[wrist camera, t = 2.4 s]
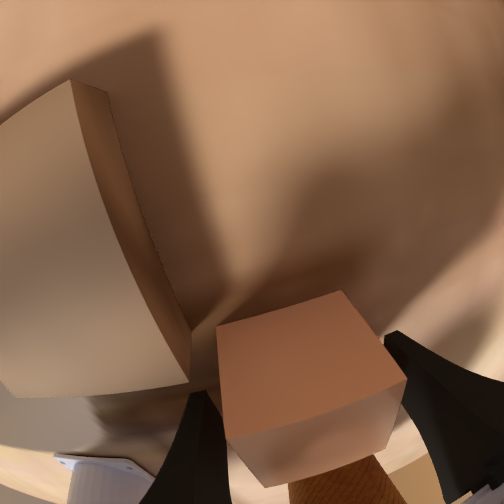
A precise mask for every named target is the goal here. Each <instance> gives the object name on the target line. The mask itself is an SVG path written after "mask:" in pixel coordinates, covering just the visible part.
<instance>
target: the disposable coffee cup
mask: <svg viewBox="0 0 504 504" xmlns="http://www.w3.org/2000/svg"><path fill="white" fill-rule="evenodd" d="M288 490H289V499H290V504H407V503H406V502H405V500H404V498H403V497H402V496H401V495H400V493H399V491H398V490H397V489H396V487H395V485H394V484H393V483H392V481H391V480H390V478H389V477H388V475H387V474H386V472H385V471H384V469H383V468H382V467H381V465H380V463H379V462H378V461H377V459H376V457H375V456H374V455H373V454H372V455H370V456H367V457H365V458H362V459H360V460H357V461H355V462H352V463H350V464H347V465H344V466H342V467H339V468H336V469H333V470H330V471H327V472H324V473H321V474H318V475H315V476H311V477H308V478H304V479H301V480H297V481H293V482H289V483H288Z"/></svg>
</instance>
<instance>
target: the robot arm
mask: <svg viewBox="0 0 504 504" xmlns="http://www.w3.org/2000/svg"><path fill="white" fill-rule="evenodd" d="M384 347H385V348H386V349H387V351H388V352H389V354H390V355H391V356H392V358H393V359H394V360H395V362H396V363H397V365H398V366H399V367H400V369H401V370H402V372H403V373H404V374H405V376H406V377H407V382H406V386H405V390H404V394H403V397H402V401H401V404H402V405H403V407H404V408H405V410H406V411H407V413H408V414H409V416H410V417H411V419H412V420H413V422H414V423H415V425H416V427H417V429H418V430H419V432H420V434H421V436H422V439H423V441H424V443H425V445H426V447H427V450H428V452H429V455H430V457H431V459H432V462H433V464H434V467H435V470H436V473H437V476H438V479H439V483H440V486H441V489H442V494H443V498H444V501H445V503H446V504H451V503H452V502H454V501H456V500H457V499H458V498H460V497H462V496H463V495H465V494H466V493H468V492H469V491H470V490H471V492H472V494H473V495H472V496H471V497H469V498H468V499H467V500H465V501H464V502H462V503H461V504H504V382H501V381H497V380H494V379H490V378H487V377H484V376H481V375H479V374H476V373H474V372H471V371H469V370H466V369H464V368H462V367H460V366H458V365H456V364H454V363H452V362H450V361H448V360H446V359H444V358H442V357H441V356H439V355H437V354H435V353H434V352H432V351H430V350H429V349H427V348H425V347H424V346H422V345H420V344H419V343H417V342H416V341H414V340H412V339H411V338H409V337H408V336H406V335H404V334H403V333H401V332H400V331H398V330H396V331H394V332H392V333H389V334H387V335H385V336H384ZM53 457H54V459H55V460H57V461H58V462H59V463H61V464H62V465H63V466H65V467H66V468H68V469H69V470H70V471H72V477H71V482H70V488H69V493H68V499H67V504H232V501H231V496H230V489H229V478H228V462H227V445H226V437H225V430H224V424H223V419H222V416H221V415H220V413H219V411H218V410H217V408H216V407H215V405H214V403H213V402H212V400H211V398H210V397H209V395H208V393H207V392H206V390H205V391H199V392H194V393H191V394H190V395H189V398H188V401H187V404H186V407H185V410H184V414H183V417H182V419H181V422H180V425H179V428H178V430H177V433H176V436H175V438H174V441H173V443H172V446H171V448H170V450H169V452H168V454H167V457H166V459H165V461H164V463H163V465H162V467H161V469H160V471H159V473H158V474H157V476H156V478H154V477H153V476H151V475H150V474H149V473H147V472H146V471H144V470H143V469H142V468H140V467H139V466H138V465H136V464H135V463H134V462H133V461H131V460H129V459H124V458H97V457H83V456H73V455H64V454H57V453H55V454H54V456H53Z"/></svg>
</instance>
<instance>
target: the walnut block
mask: <svg viewBox="0 0 504 504" xmlns="http://www.w3.org/2000/svg"><path fill="white" fill-rule="evenodd" d="M190 354H191V330H190V328H189V326H188V324H187V322H186V319H185V317H184V315H183V313H182V311H181V309H180V306H179V304H178V302H177V300H176V297H175V295H174V293H173V290H172V288H171V286H170V283H169V281H168V279H167V276H166V274H165V271H164V269H163V266H162V264H161V261H160V259H159V256H158V254H157V251H156V249H155V246H154V244H153V241H152V238H151V236H150V233H149V230H148V228H147V225H146V222H145V220H144V217H143V214H142V211H141V208H140V205H139V202H138V200H137V197H136V194H135V191H134V188H133V185H132V181H131V178H130V175H129V172H128V169H127V166H126V162H125V159H124V156H123V152H122V149H121V145H120V142H119V138H118V135H117V131H116V127H115V124H114V120H113V116H112V112H111V108H110V104H109V100H108V95H107V92H105V91H102V90H99V89H97V88H94V87H91V86H88V85H86V84H83V83H80V82H77V81H74V80H71V79H69V80H67V81H66V82H64V83H62V84H60V85H59V86H57V87H55V88H54V89H52V90H50V91H49V92H47V93H45V94H44V95H42V96H41V97H39V98H37V99H36V100H34V101H33V102H31V103H30V104H28V105H27V106H26V107H24V108H23V109H21V110H20V111H18V112H17V113H16V114H14V115H13V116H12V117H10V118H9V119H8V120H6V121H5V122H4V123H2V124H1V125H0V381H1V382H2V383H3V384H4V385H5V387H6V388H7V389H8V390H9V391H10V392H11V394H12V395H13V396H14V397H15V398H56V397H77V396H78V397H79V396H93V395H105V394H115V393H124V392H132V391H140V390H147V389H154V388H160V387H166V386H172V385H178V384H183V383H189V382H190Z"/></svg>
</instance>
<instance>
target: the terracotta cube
mask: <svg viewBox="0 0 504 504" xmlns="http://www.w3.org/2000/svg"><path fill="white" fill-rule="evenodd" d="M216 335H217V349H218V362H219V375H220V386H221V398H222V408H223V418H224V428H225V437H226V440H227V441H228V443H229V444H230V445H231V447H232V448H233V449H234V451H235V452H236V453H237V455H238V456H239V457H240V459H241V460H242V461H243V462H244V464H245V465H246V466H247V467H248V469H249V470H250V471H251V472H252V474H253V475H254V476H255V477H256V478H257V480H258V481H259V482H260V483H261V484H262V485H263V487H264V488H268V487H272V486H277V485H281V484H285V483H289V482H293V481H297V480H301V479H304V478H308V477H311V476H315V475H318V474H321V473H324V472H327V471H330V470H333V469H336V468H339V467H342V466H344V465H347V464H350V463H352V462H355V461H357V460H360V459H362V458H365V457H367V456H370V455H372V454H374V453H376V452H379V451H381V450H383V449H385V448H386V446H387V444H388V441H389V438H390V435H391V432H392V430H393V427H394V424H395V420H396V417H397V414H398V411H399V408H400V404H401V401H402V397H403V394H404V390H405V386H406V382H407V377H406V376H405V374H404V373H403V372H402V370H401V369H400V367H399V366H398V365H397V363H396V362H395V360H394V359H393V358H392V356H391V355H390V354H389V352H388V351H387V349H386V348H385V347H384V345H383V344H382V343H381V341H380V340H379V339H378V337H377V336H376V335H375V333H374V332H373V331H372V329H371V328H370V327H369V325H368V324H367V323H366V321H365V320H364V319H363V318H362V316H361V315H360V314H359V312H358V311H357V310H356V308H355V307H354V306H353V305H352V303H351V302H350V301H349V299H348V298H347V297H346V296H345V294H344V293H343V292H342V291H341V290H339V291H336V292H333V293H330V294H327V295H324V296H321V297H318V298H314V299H311V300H308V301H305V302H302V303H298V304H295V305H292V306H288V307H285V308H282V309H278V310H275V311H271V312H268V313H264V314H261V315H257V316H254V317H250V318H247V319H243V320H239V321H235V322H232V323H228V324H224V325H220V326H216Z"/></svg>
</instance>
